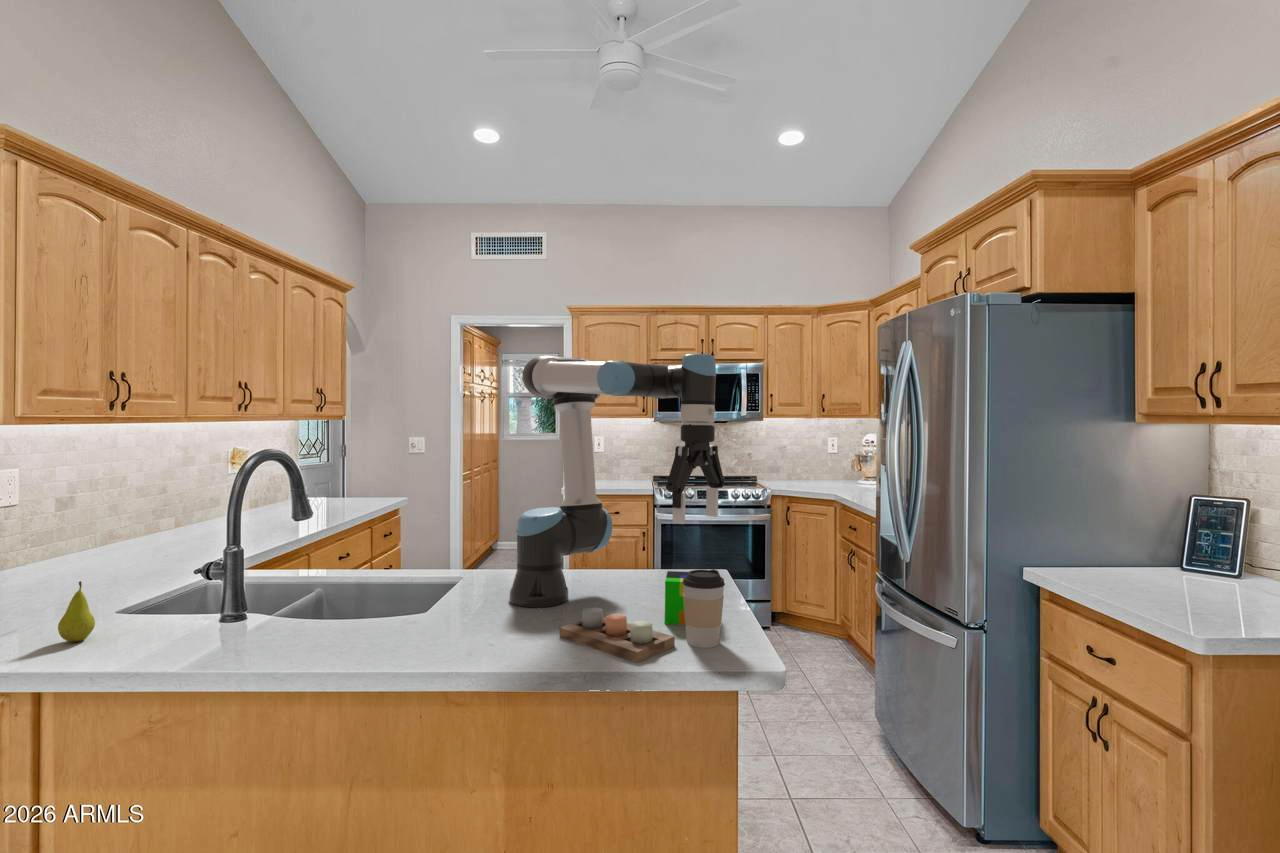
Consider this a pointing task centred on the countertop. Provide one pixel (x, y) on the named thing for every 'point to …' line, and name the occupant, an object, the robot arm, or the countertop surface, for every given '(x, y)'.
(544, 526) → the robot arm
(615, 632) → the button terracotta
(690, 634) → the coffee cup
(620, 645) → the button board
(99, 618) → the countertop surface
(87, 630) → the fruit
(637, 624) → the button sage
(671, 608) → the puzzle toy
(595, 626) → the button grey
